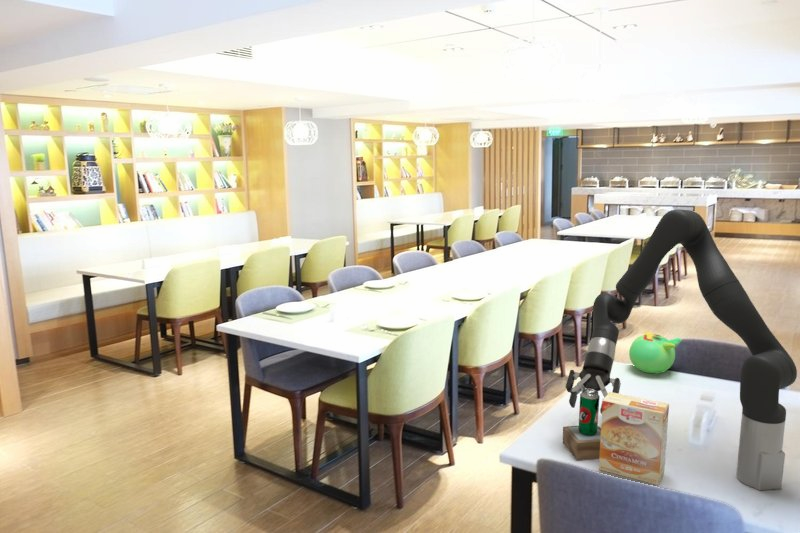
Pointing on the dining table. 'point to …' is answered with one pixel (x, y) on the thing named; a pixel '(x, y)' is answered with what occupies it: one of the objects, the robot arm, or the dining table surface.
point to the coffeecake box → (633, 437)
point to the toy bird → (653, 353)
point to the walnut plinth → (582, 443)
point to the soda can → (588, 412)
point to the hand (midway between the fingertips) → (587, 409)
